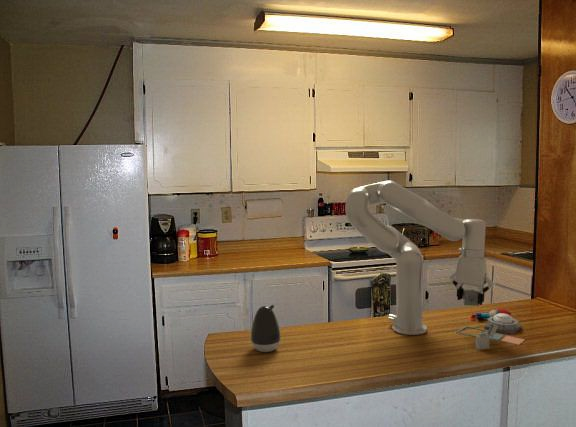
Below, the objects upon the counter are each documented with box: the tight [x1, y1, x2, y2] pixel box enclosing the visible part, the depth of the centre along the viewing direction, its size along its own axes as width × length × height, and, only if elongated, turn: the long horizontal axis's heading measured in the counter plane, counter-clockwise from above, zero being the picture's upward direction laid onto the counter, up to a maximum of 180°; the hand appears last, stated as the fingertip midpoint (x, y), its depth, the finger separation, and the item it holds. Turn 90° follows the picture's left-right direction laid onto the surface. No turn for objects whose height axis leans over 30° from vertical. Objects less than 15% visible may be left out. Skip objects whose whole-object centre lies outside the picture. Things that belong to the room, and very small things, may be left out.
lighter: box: [475, 323, 498, 351], centre depth 163 cm, size 7×2×8 cm, turn 101°
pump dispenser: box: [250, 304, 282, 353], centre depth 166 cm, size 10×10×15 cm
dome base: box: [483, 316, 522, 335], centre depth 182 cm, size 10×10×3 cm
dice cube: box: [462, 288, 480, 307], centre depth 178 cm, size 5×5×5 cm
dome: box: [494, 313, 513, 324], centre depth 182 cm, size 6×6×4 cm
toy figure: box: [470, 308, 512, 322], centre depth 192 cm, size 8×5×15 cm
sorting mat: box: [456, 325, 525, 346], centre depth 174 cm, size 21×8×1 cm, turn 47°
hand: (470, 300), depth 178 cm, fingers closed on dice cube, 6 cm apart
